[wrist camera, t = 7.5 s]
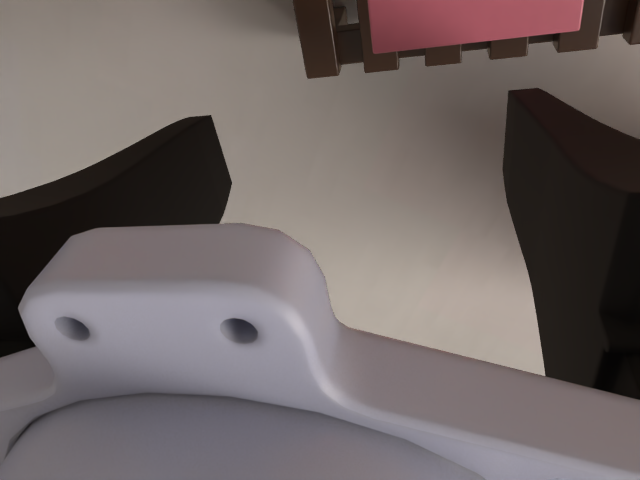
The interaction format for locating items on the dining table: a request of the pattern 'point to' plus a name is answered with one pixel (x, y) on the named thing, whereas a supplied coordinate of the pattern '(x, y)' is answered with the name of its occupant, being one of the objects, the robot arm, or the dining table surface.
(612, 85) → the dining table surface
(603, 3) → the rack
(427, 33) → the pink box
